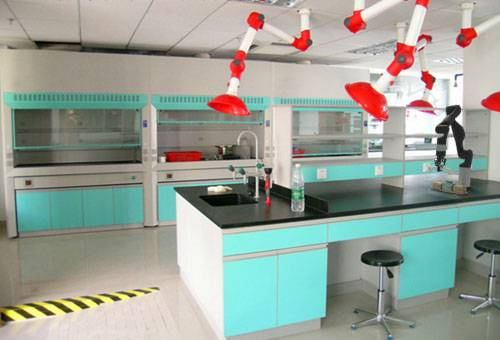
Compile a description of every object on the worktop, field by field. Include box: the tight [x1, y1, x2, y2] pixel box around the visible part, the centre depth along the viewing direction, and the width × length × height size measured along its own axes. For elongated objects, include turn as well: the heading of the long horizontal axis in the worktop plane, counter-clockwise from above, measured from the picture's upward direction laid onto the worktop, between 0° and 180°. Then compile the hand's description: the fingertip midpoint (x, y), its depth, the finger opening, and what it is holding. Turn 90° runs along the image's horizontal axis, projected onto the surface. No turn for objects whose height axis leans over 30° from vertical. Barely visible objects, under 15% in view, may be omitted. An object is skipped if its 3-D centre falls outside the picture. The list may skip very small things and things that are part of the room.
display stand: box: [430, 179, 468, 195], centre depth 350 cm, size 8×27×9 cm, turn 33°
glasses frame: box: [427, 165, 454, 176], centre depth 343 cm, size 3×20×5 cm, turn 33°
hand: (439, 171), depth 344 cm, fingers closed on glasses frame, 3 cm apart
